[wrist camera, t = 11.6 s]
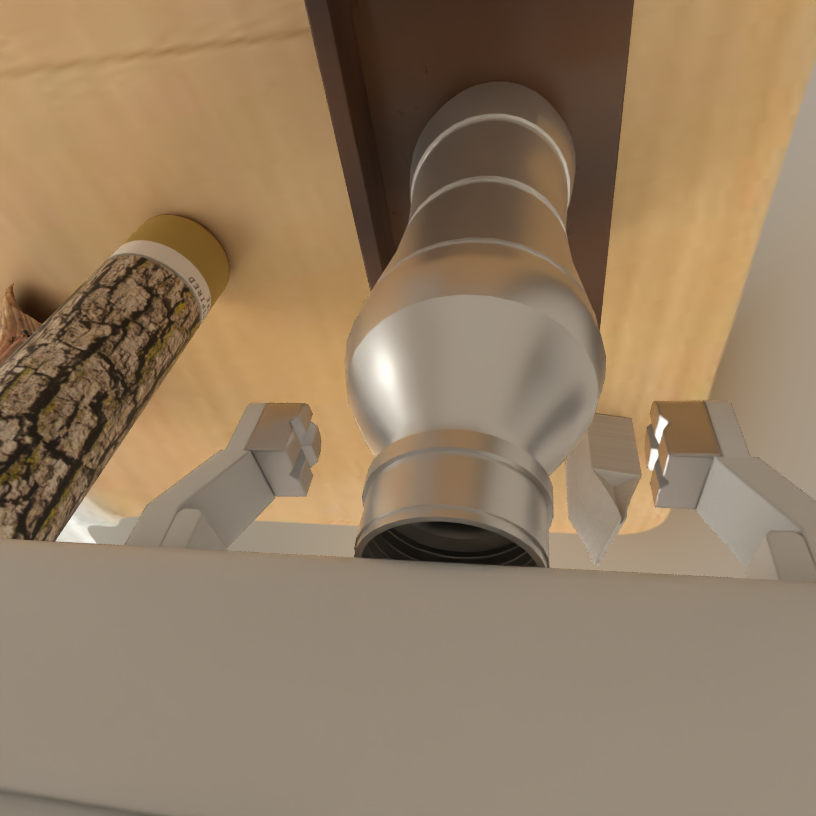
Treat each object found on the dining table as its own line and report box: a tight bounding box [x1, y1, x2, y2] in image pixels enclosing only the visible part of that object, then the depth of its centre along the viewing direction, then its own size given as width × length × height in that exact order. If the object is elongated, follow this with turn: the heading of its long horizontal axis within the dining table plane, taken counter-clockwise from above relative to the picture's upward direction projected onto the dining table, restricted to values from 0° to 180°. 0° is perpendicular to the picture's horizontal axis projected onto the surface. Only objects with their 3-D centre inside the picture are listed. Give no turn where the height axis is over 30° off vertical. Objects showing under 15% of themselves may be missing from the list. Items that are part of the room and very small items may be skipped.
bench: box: [304, 0, 634, 330], centre depth 27 cm, size 20×11×12 cm, turn 9°
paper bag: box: [565, 413, 642, 566], centre depth 45 cm, size 4×7×10 cm, turn 177°
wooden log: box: [0, 215, 230, 542], centre depth 32 cm, size 7×7×25 cm
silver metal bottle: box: [345, 82, 606, 568], centre depth 17 cm, size 6×7×20 cm
